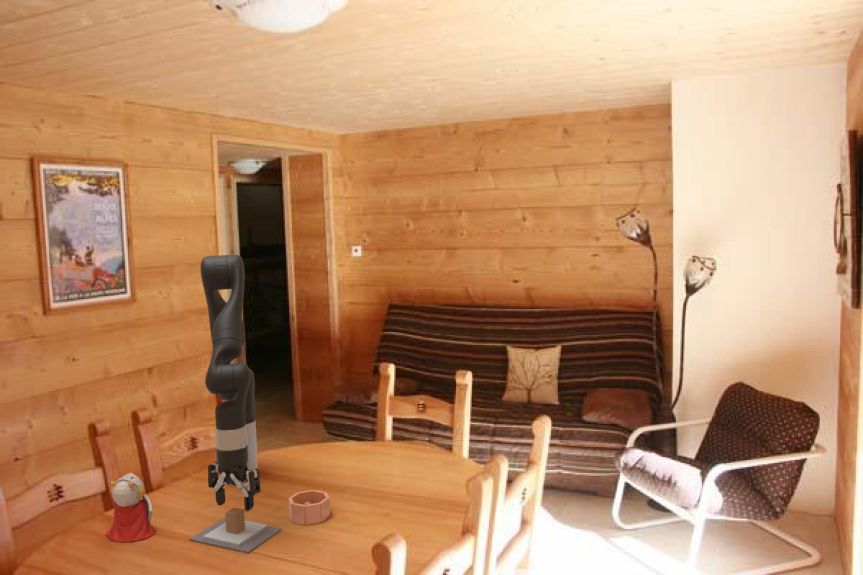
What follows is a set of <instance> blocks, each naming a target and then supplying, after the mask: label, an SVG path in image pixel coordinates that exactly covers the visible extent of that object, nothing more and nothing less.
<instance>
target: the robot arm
mask: <svg viewBox="0 0 863 575" xmlns="http://www.w3.org/2000/svg"><path fill="white" fill-rule="evenodd" d="M199 268H200V277H201V283H202V286H203V292H204V297H205V300H206V305H207V309H208V310H207V312H208V320H209V321H208V322H209V332H210V337H211V343H212V352H211V358H210V362H209V364H208V367H207V370H206V375H205V379H204V381H205V388H206V390H207V391H208V392H209V393H211V394H212V395H218V397H219V399H221V400H222V402H219V403H218V404H217V405H216V406H215V408H214V414H215V415H214V417H215V452H216V453H215V454H216V456H215V457H216V461H214V462H212V463H211V464H208V465H207V486H208V488H210V489H213V490H214V492H215V502H216V503H217V504H216V505H217V506H223V505H225V503H226V489H225V487H226V486H227V485H232V486H236V487H237V488H238V490H239V491H241V492H242V494H243V495H244V497H243V500H244V502H243V503H244V512H250V510H252V509H253V508H254V507H255V500H254V498H255V497H254V496H255V495H257V494H259V493H261V490H262V489H261V480H260V471H259V468H258V446H257V445H258V444H257V427H256V425H257V423H256V408H255V407H256V406H255V404H256V403H255V390H256V389H255V386H256V384H255V383H256V382H255V374H254V371H253V370H252V369H251V368H250V367H249V366H248V365H247V364H245V363H244V362H243V363H241V362H237V363H232V361H233V360H236V359H238V358H239V357H241V355H242V352H243V347H244V344H245V342H246V337H245V336H246V334H245V326H244V324H245V323H244V320H243V319H242V318H243V317H242V316H243V307H244V296H245V295H244V294H245V284H246V282H245V279H246V278H245V277H246V275H245V273H246V272H245V264H244V261H243V258H242V256H241V255H239V254H224V255H223V254H221V255H209V256H207V255H206V256H205V257H203V258H202V259H201V261H200V267H199ZM220 290H222V291H224V290H231V293H230V295H229V299H228V300H227V301H226V300H225V298H223V296H222V295H221V292H220ZM219 474H220V476H219ZM243 482H244V484H243Z"/></svg>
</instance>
